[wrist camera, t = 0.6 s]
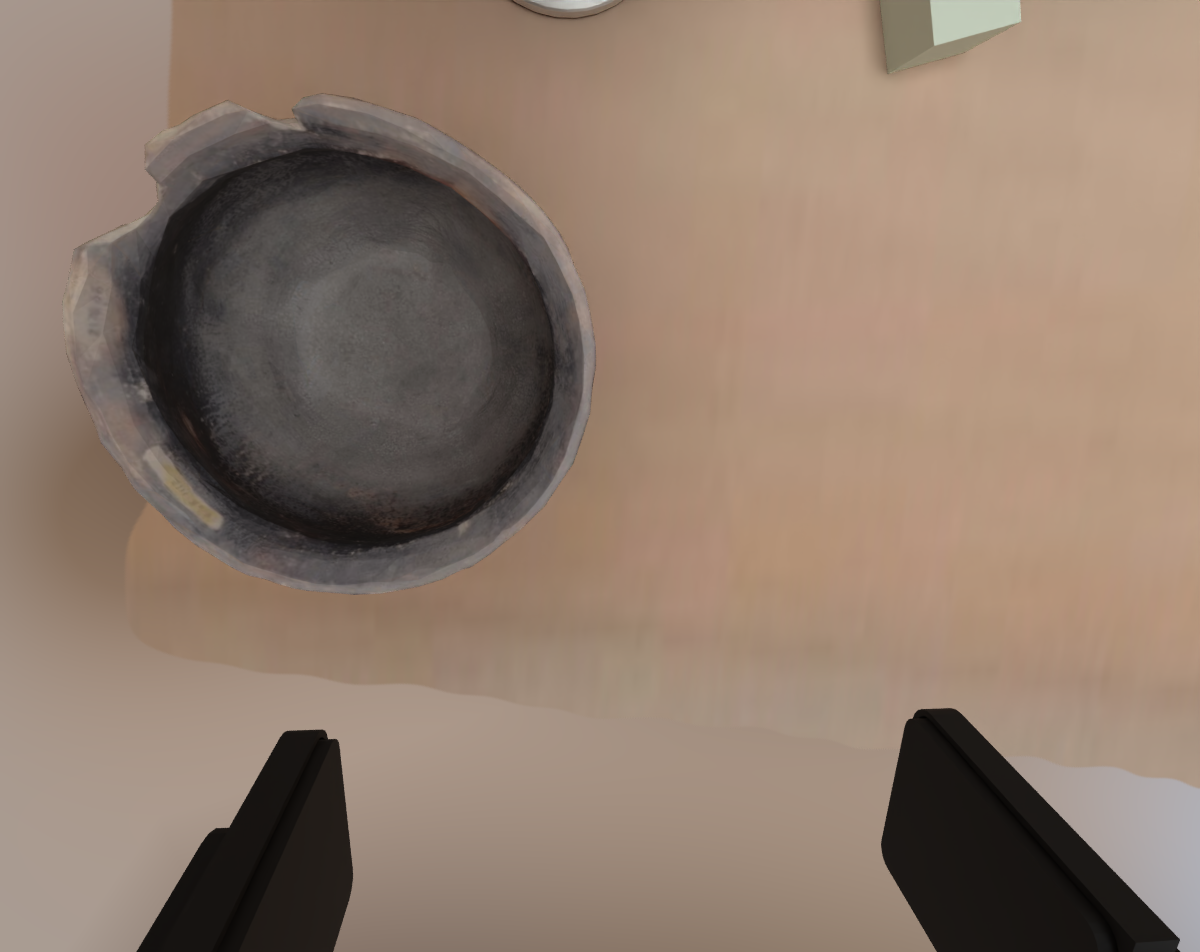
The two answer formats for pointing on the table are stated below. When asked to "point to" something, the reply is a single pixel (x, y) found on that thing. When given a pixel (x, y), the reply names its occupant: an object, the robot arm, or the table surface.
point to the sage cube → (940, 28)
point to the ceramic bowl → (333, 346)
